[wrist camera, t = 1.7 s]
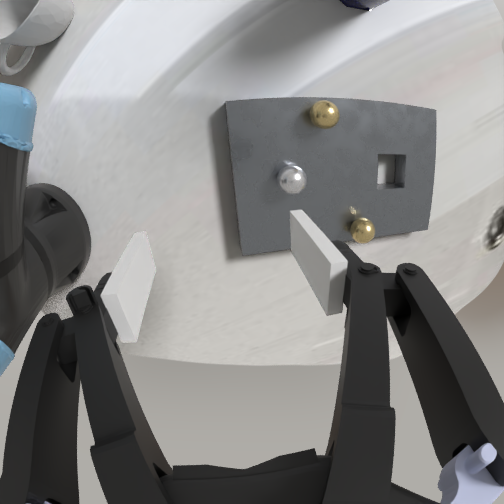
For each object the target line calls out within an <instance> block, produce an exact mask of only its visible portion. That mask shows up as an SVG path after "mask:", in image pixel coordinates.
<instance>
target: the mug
mask: <svg viewBox="0 0 504 504" xmlns="http://www.w3.org/2000/svg"><path fill="white" fill-rule="evenodd" d="M73 16H74V3H73V0H0V43H1V44H0V73H1V74H3V75H13V74H16V73H18V72H19V71H21V70H22V69H23V68H24V67H25V66H26V65H27V63H28V62H29V60H30V59H31V57H32V55H33V53H34V50H35V47H36V46H38V45H43V44H46V43H49V42H51V41H53V40H55V39H56V38H57V37H59V36H60V35H61V34H62V33H63V32H64V31H65V30H66V28H67V27H68V25H69V24H70V22H71V20H72V18H73ZM10 45H17V46H27V47H26V49H25V51H24V53H23V55H22V56H21V57H20V59H19V60H18V62H17V63H16V64H15V65H14V66H12V67H8V66H7V64H6V56H7V51H8V49H9V47H10Z"/></svg>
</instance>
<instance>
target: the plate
mask: <svg viewBox="0 0 504 504" xmlns="http://www.w3.org/2000/svg"><path fill="white" fill-rule="evenodd" d="M321 100H326V101H330V102H332V103H333V104H335V105H336V107H337V108H338V110H339V113H340V118H339V121H338V123H337V124H336V125H335V126H334V127H332V128H330V129H321V128H319V127H317V126H315V125H314V124H313V122H312V121H311V119H310V109H311V107H312V106H313V104H315V103H316V102H318V101H321ZM225 106H226V116H227V126H228V136H229V146H230V155H231V165H232V174H233V184H234V193H235V202H236V211H237V220H238V229H239V238H240V247H241V251H242V255H251V254H258V253H265V252H272V251H279V250H287V249H291V230H290V211H293V210H303V211H304V212H305V213H306V215H307V216H308V217H309V218H310V219H311V220H312V221H313V222H314V223H315V224H316V225H317V227H318V228H319V229H320V230H321V231H322V232H323V233H324V234H325V235H326V237H327V238H328V239H329V240H330V241H336V240H339V241H341V242H344V241H351V240H354V239H353V238H352V236H351V233H350V228H351V225H352V223H353V222H354V221H355V220H356V219H358V218H367V219H369V220H370V221H371V222H372V223H373V224H374V227H375V235H374V237H380V236H387V235H394V234H401V233H408V232H415V231H422V230H428V224H429V217H430V210H431V203H432V194H433V184H434V173H435V157H436V110H434V109H429V108H423V107H417V106H411V105H404V104H397V103H389V102H381V101H371V100H359V99H344V98H316V97H292V98H264V99H249V100H236V101H226V102H225ZM378 154H396V159H395V182H394V183H391V184H377V177H378ZM289 165H294V166H298V167H300V168H301V169H302V170H303V171H304V172H305V174H306V177H307V184H306V187H305V189H304V190H303V191H302V192H300V193H299V194H296V195H289V194H286V193H284V192H283V191H281V189H280V188H279V186H278V184H277V176H278V173H279V172H280V170H281V169H282V168H284V167H286V166H289Z"/></svg>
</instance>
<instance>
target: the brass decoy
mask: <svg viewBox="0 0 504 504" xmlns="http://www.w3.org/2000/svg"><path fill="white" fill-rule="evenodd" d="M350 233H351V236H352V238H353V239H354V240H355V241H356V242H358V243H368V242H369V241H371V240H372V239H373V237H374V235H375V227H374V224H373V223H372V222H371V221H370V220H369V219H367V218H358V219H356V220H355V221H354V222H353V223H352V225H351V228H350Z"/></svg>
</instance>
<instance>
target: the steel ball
mask: <svg viewBox="0 0 504 504" xmlns="http://www.w3.org/2000/svg"><path fill="white" fill-rule="evenodd" d="M277 184H278V186H279V188H280V189H281V191H283V192H284V193H286V194H289V195H296V194H299V193H300V192H302V191H303V190H304V189H305V187H306V184H307V177H306V174H305V172H304V171H303V170H302V169H301V168H300V167H298V166H294V165H289V166H286V167H284V168H282V169H281V170H280V172H279V173H278V176H277Z"/></svg>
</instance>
